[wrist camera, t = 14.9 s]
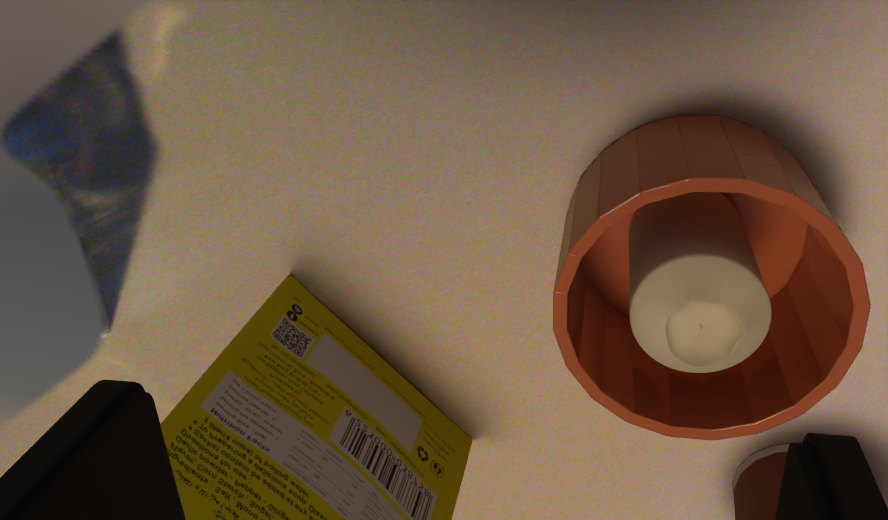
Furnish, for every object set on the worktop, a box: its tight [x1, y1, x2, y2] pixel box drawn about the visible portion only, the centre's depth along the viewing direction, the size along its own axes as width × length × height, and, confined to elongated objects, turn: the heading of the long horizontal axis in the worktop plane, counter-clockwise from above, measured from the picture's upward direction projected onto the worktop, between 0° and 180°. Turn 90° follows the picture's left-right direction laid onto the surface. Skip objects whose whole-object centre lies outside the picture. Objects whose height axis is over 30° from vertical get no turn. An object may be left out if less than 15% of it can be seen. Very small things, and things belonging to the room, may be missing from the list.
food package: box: [160, 274, 472, 520], centre depth 38 cm, size 15×1×20 cm, turn 47°
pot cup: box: [553, 115, 871, 440], centre depth 35 cm, size 12×12×9 cm
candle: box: [629, 192, 771, 373], centre depth 34 cm, size 6×6×10 cm
